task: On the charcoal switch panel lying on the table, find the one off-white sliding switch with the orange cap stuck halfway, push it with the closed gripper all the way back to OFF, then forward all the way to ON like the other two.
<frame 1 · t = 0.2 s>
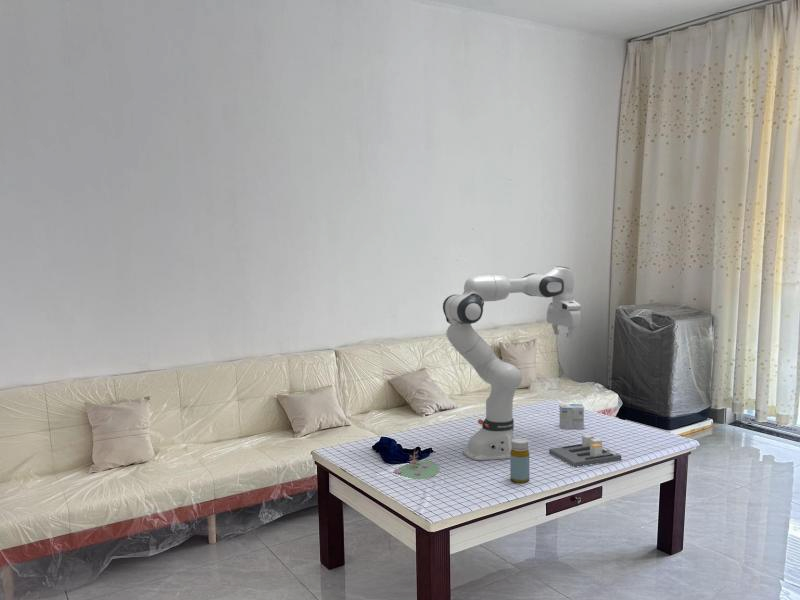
hand: (562, 335, 273), 47 cm above the table, tool pointing down, fingers open, 8 cm apart
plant: (407, 473, 247), on the table
light bulb box: (571, 427, 300), on the table
bottle: (519, 480, 236), on the table
switch panel: (584, 456, 259), on the table
tripped switch: (596, 450, 254), point 4 cm above the table, slide at 0.0 cm
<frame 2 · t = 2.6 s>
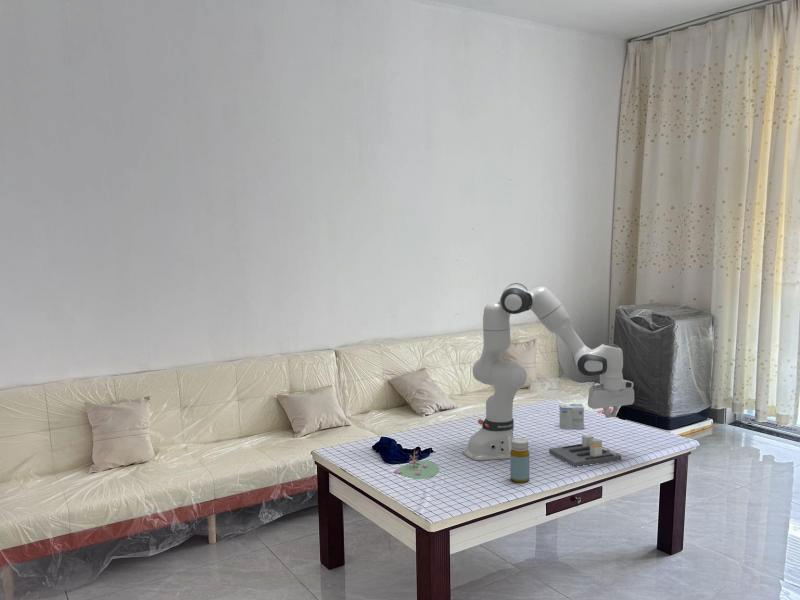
hand: (610, 417, 255), 17 cm above the table, tool pointing down, fingers closed
nothing on the table moved.
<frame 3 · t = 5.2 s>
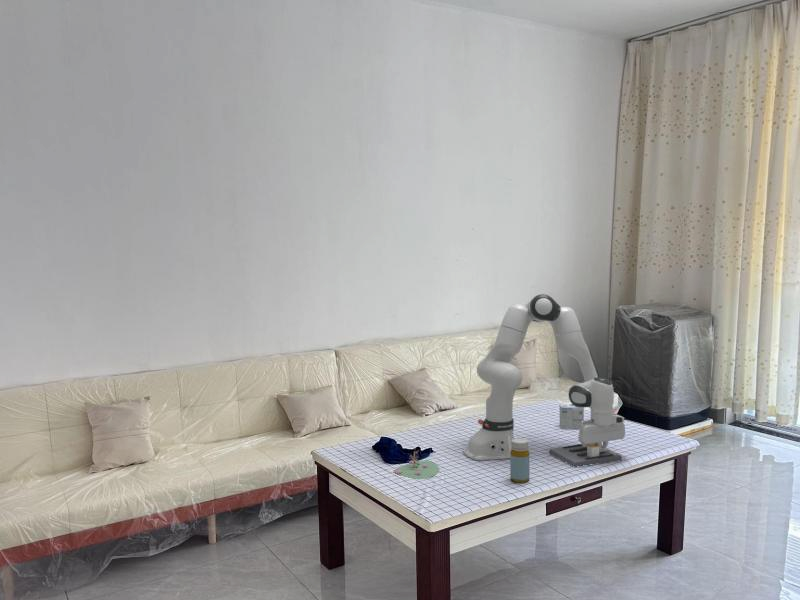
hand: (601, 451, 255), 3 cm above the table, tool pointing down, fingers closed
tripped switch: (593, 450, 254), point 4 cm above the table, slide at -1.4 cm, touching gripper
everything else where it was.
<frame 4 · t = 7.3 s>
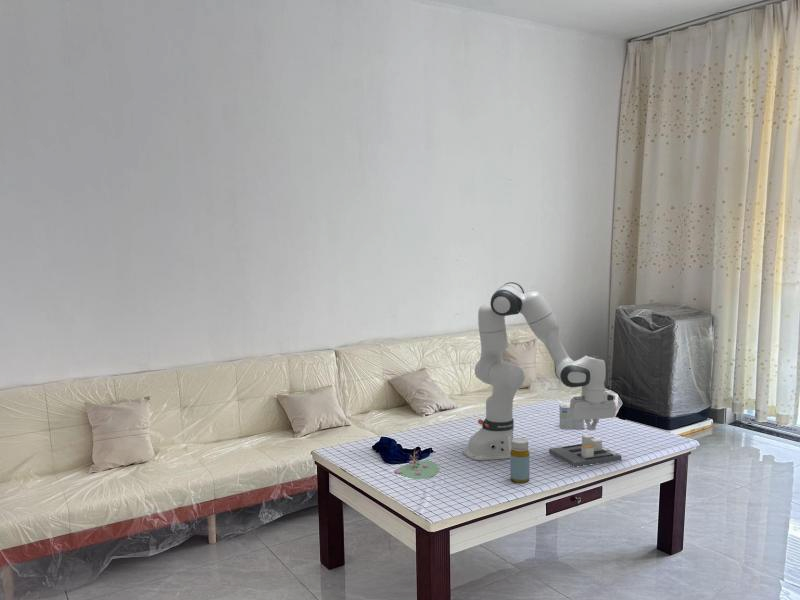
hand: (591, 429, 253), 13 cm above the table, tool pointing down, fingers closed
tripped switch: (587, 451, 253), point 4 cm above the table, slide at -4.1 cm
everything else where it was.
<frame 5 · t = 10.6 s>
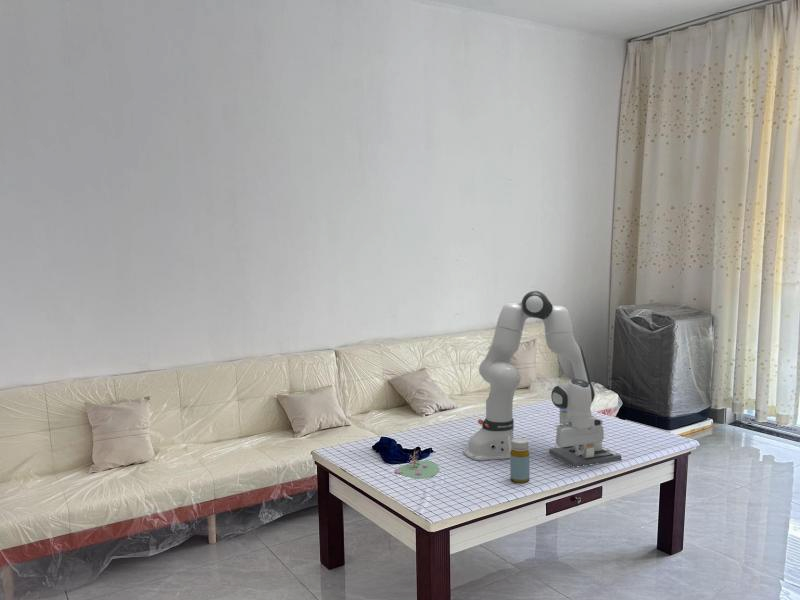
hand: (579, 455, 252), 3 cm above the table, tool pointing down, fingers closed
tripped switch: (588, 451, 253), point 4 cm above the table, slide at -3.8 cm, touching gripper
everything else where it was.
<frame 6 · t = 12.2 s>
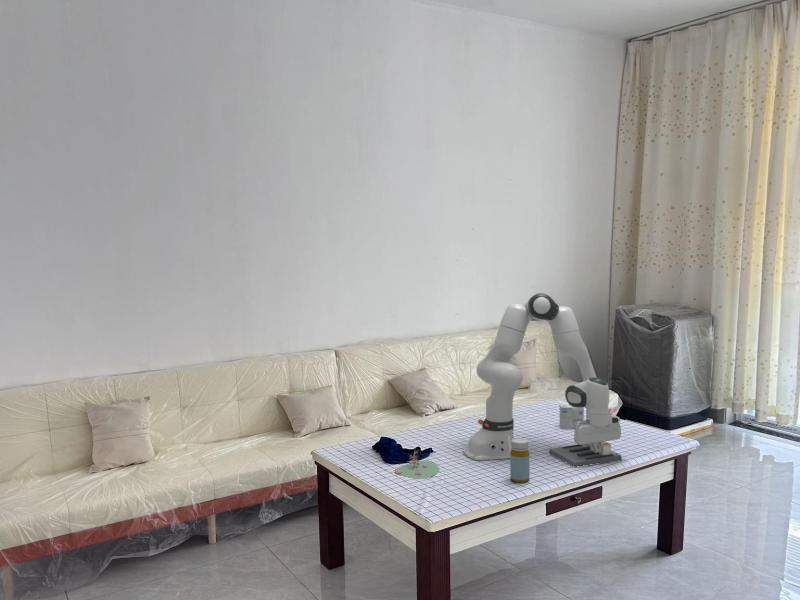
hand: (597, 452, 254), 3 cm above the table, tool pointing down, fingers closed
tripped switch: (604, 448, 256), point 4 cm above the table, slide at 4.2 cm, touching gripper
everything else where it was.
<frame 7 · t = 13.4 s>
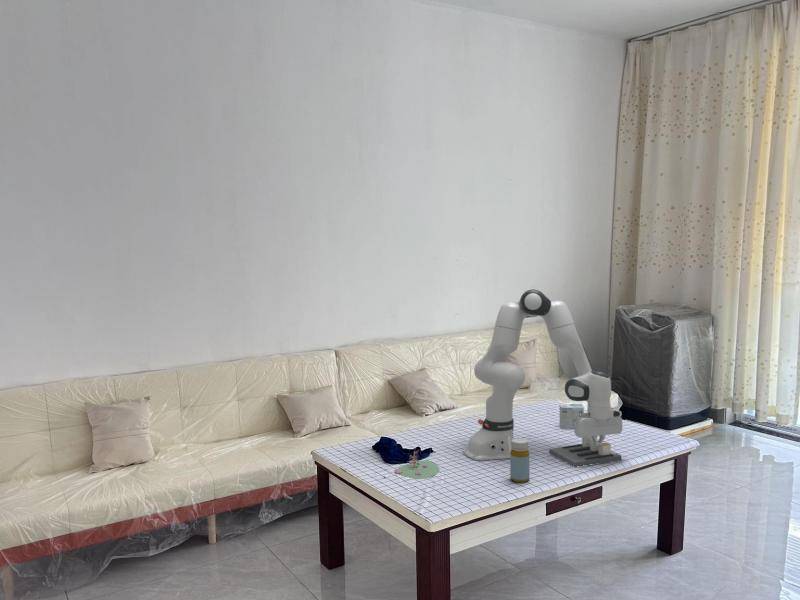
hand: (597, 445, 253), 6 cm above the table, tool pointing down, fingers closed
tripped switch: (604, 449, 255), point 4 cm above the table, slide at 4.1 cm
everything else where it was.
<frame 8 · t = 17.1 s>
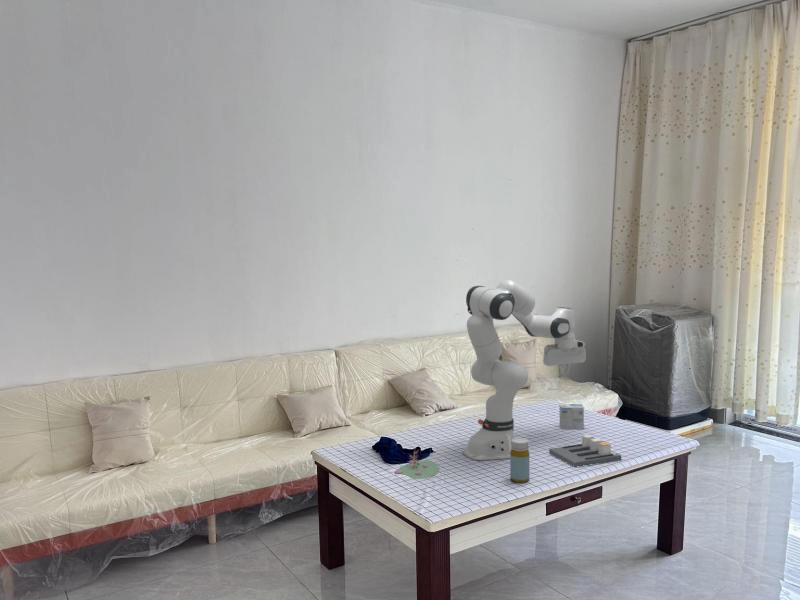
hand: (564, 373, 282), 29 cm above the table, tool pointing down, fingers closed
nothing on the table moved.
at the end: tripped switch slide at 4.1 cm; light bulb box moved 0.3 cm from its start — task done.
